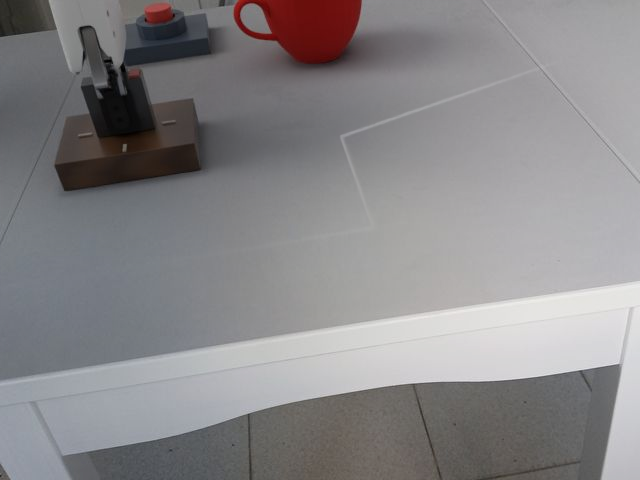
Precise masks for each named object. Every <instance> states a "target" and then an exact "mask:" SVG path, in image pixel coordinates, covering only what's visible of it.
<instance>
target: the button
mask: <svg viewBox="0 0 640 480" xmlns="http://www.w3.org/2000/svg"><path fill="white" fill-rule="evenodd" d="M172 9H173V8H172V5H171V4H170V3H168V2H155V3H152V4H148V5H147V6H145V7H144V8H143V12H144V14H145V16H146V19H147V23H161V22H166V21H169V20H171V19H173V18H174V17H173V13H172Z"/></svg>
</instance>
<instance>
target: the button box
mask: <svg viewBox="0 0 640 480" xmlns="http://www.w3.org/2000/svg"><path fill="white" fill-rule="evenodd" d="M171 9H172V13H173V17H174V18H173V19H171V20H169V21H166V22H161V23H147V19H146V16H145V13H144V14H141V15H140V16H138V17H137V18H136V19H135V22H133V23H126V24H124V25H125V30H126V46H125V53H124V58H125V61H126V65H127V67H131V66H137V65H144V64H151V63H158V62H166V61H172V60H179V59H185V58H186V59H187V58H192V57H199V56H206V55H211V54H212V51H211V38H210V28H209V23H208V18H207V17H208V16H207V13H205V12H203V13H197V14H190V15H189V14H188V15H185V12H184V11H182V10H180V9H177V8H176V9H175V8H171Z"/></svg>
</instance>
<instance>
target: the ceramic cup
mask: <svg viewBox="0 0 640 480" xmlns="http://www.w3.org/2000/svg"><path fill="white" fill-rule="evenodd" d="M249 4H253V5H256V6H258V7H259V8H260V9H261V11H262V12H263V15H264V19H265V21H266V24H267V26H268V29H269V31H270V33H266V32H265V33H262V32H257V31H253V30H251V29H249V28H248V27H247V26H246V25H245V24H244V22H243V21H242V20H243V19H242V17H241V16H242V15H241V13H242V10H243V8H244V7H245V6H247V5H249ZM362 5H363V0H237V1H236V3H235V4H234V7H233V13H232V14H233V19H234V23H235V25H236V26H237V27H238V28H239V30H240V31H241V32H242V33H243V34H245V35H246V36H248V37H250V38H253V39H256V40H260V41H270V42H277V43H278V45H279V46H280V47H281V48H282V49H283V50H284V51H285V52H287V54H288V55H290V56H291V57H292V59H293V60H294V61H297V62H298V63H303V64H322V63H327V62H330V61H333V60H335V59H337V58H339V57H340V56H341V55H342V54H343V52H344V50H345V49H346V47H348V45H349V44H350V42H351V40H352V39H353V37H354V35H355V34H356V33H355V32H356V30H357V28H358V25H359V22H360V17H361V12H362Z"/></svg>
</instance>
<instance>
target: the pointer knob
mask: <svg viewBox="0 0 640 480" xmlns="http://www.w3.org/2000/svg"><path fill="white" fill-rule="evenodd" d="M121 73H122V76H123V79H124V83H125V86H126V90H127V92H130V93H131V96H132V99H133V103H134V106H135V110H136V113H137V117H138V120H139V123H140V130H139V131H145V130H152V129H155V126H156V118H155V115H154V111H153V107H152V104H153V103H152V100H151V97H150V94H149V89H148V86H147V82H146V79H145V75H144V71H143V69H142V68H140V67H134V68H133V67H132V68H129V69H128V71H126V72H121ZM108 75H109V76H110V75H113V76H114V78H115V75H114V73H112V74H108ZM81 79H82V80H81V83H80V90H81V92H82V95H83V98H84V101H85V104H86V107H87V110H88V114H90V116H91V119H92V122H93V125H94V128H95V131H96V134H97V137H98V138H99V137H106V136H112V135H111V134H109V132H108V129H107V126H106V123H105V119H104V116H103V113H102V110H101V107H100V104H99V101H98V97H97V94H96V90H95V87H94V84H93V81H92V78H91V76H87V77H83V78H81ZM139 131H137V132H139ZM131 133H132V132H131ZM125 134H126V133H125ZM118 135H119V134H118Z"/></svg>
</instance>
